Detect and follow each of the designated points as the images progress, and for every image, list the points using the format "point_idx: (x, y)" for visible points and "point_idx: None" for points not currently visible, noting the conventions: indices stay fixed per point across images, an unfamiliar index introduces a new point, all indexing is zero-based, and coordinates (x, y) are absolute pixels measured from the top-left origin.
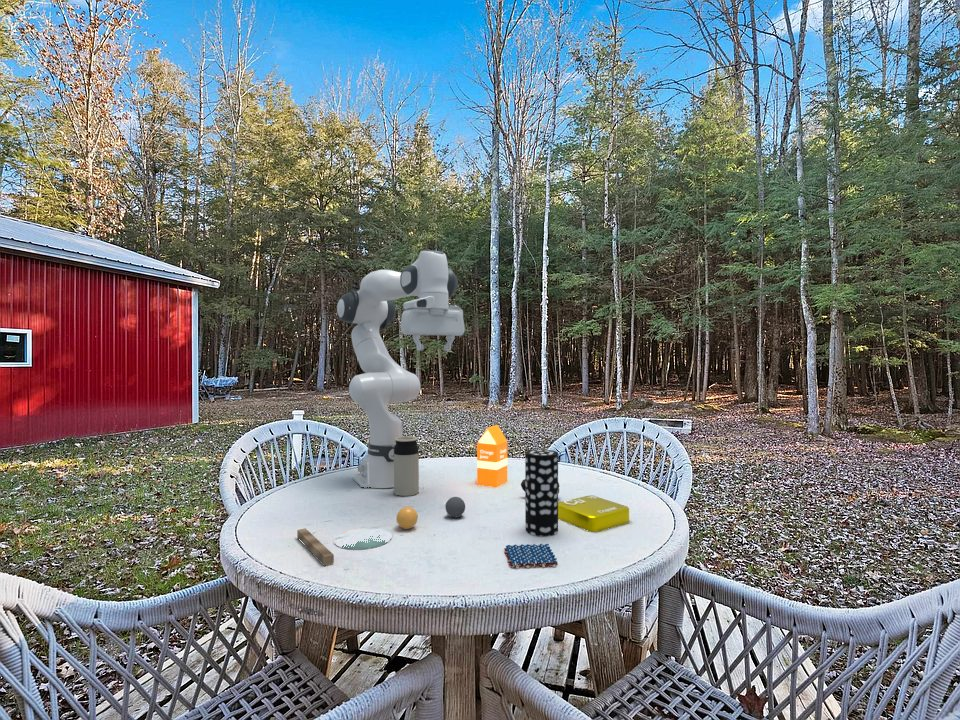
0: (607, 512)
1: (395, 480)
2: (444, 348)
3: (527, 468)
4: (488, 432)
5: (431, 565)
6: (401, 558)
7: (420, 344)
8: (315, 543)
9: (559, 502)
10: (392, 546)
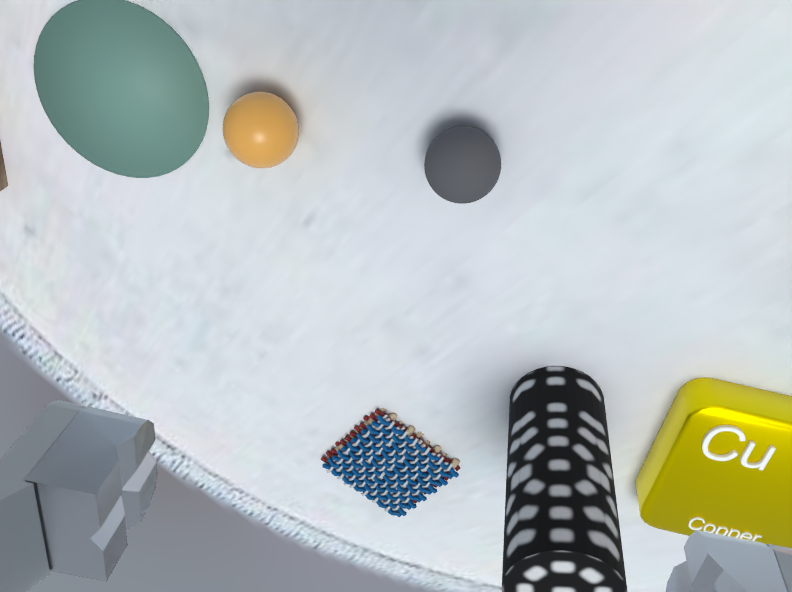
0: None
1: None
2: (696, 571)
3: (509, 529)
4: None
5: (198, 344)
6: (158, 273)
7: (33, 567)
8: None
9: (714, 413)
10: (170, 201)
